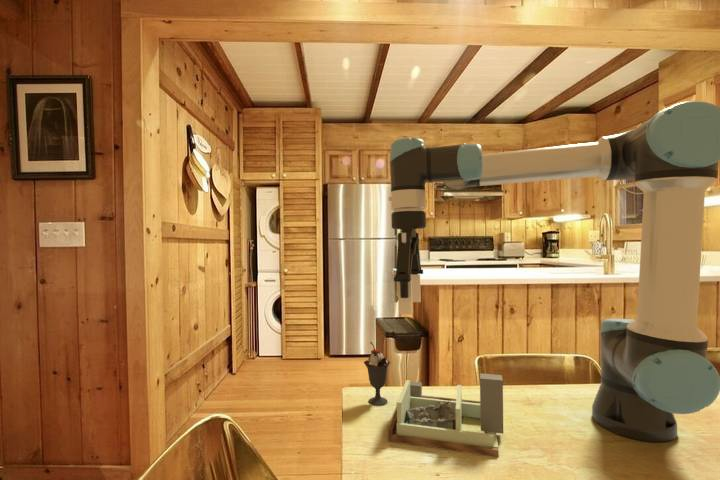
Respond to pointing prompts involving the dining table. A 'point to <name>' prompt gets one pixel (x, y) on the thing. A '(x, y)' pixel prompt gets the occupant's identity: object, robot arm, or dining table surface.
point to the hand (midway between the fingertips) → (410, 307)
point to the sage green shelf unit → (459, 415)
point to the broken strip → (418, 390)
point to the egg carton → (433, 416)
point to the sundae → (377, 375)
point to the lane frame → (436, 443)
